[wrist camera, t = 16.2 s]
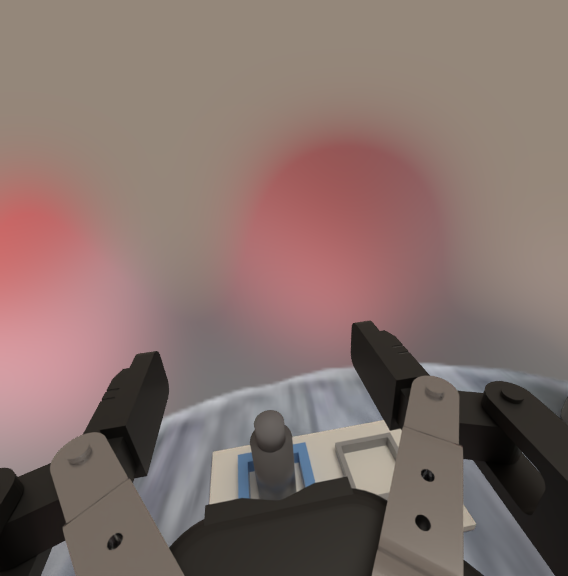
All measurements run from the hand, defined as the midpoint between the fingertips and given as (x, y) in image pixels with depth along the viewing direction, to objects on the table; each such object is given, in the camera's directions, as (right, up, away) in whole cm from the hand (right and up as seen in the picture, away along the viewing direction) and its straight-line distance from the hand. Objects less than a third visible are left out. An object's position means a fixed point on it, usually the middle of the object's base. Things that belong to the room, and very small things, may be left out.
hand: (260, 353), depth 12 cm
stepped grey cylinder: (0, -22, +22) cm, 31 cm away
